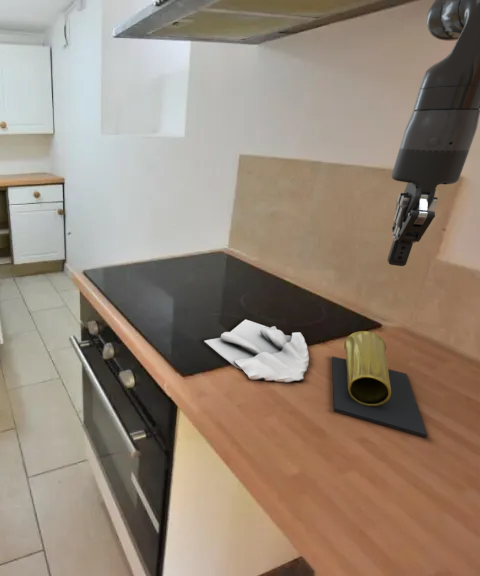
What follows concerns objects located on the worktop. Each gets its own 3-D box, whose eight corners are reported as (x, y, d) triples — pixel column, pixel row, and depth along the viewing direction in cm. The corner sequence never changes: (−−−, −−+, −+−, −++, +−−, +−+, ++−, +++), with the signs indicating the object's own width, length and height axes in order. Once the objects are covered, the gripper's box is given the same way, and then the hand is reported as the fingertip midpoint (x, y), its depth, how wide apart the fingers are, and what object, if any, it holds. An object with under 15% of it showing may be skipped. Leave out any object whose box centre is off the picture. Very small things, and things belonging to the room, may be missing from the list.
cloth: (249, 390, 61) (252, 378, 60) (189, 326, 81) (191, 316, 80) (354, 373, 66) (358, 362, 65) (273, 316, 85) (275, 307, 84)
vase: (347, 362, 70) (349, 408, 59) (340, 332, 69) (340, 374, 57) (389, 360, 66) (398, 409, 55) (382, 328, 65) (391, 372, 54)
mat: (405, 376, 65) (406, 373, 65) (426, 438, 52) (427, 434, 52) (331, 358, 70) (332, 356, 70) (333, 411, 57) (334, 408, 57)
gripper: (486, 149, 46) (436, 282, 52) (455, 144, 56) (417, 255, 63) (409, 148, 49) (371, 273, 56) (393, 144, 60) (363, 249, 66)
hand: (395, 263), depth 59 cm, fingers closed
